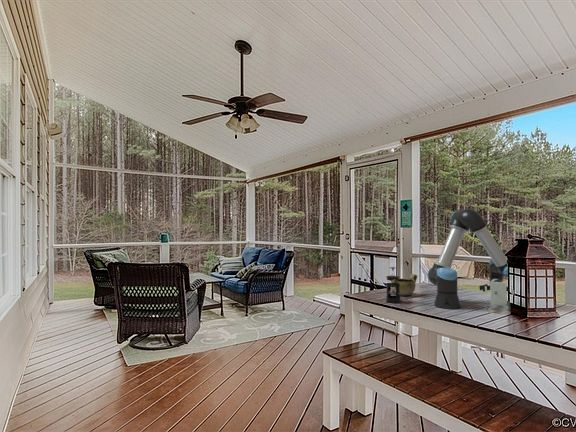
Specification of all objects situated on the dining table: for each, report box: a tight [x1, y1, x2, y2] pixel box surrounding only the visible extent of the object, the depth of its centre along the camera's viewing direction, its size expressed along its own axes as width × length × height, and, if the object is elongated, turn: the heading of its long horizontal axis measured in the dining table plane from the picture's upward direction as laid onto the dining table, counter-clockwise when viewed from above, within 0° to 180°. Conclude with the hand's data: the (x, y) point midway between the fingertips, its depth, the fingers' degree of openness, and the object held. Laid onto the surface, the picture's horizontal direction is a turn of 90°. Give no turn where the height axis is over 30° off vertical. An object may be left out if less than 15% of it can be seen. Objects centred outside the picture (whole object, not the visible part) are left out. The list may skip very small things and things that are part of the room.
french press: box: [385, 266, 402, 305], centre depth 239 cm, size 12×9×23 cm
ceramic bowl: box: [389, 273, 418, 297], centre depth 261 cm, size 22×17×15 cm
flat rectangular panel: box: [489, 281, 508, 306], centre depth 208 cm, size 8×3×16 cm, turn 63°
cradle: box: [487, 300, 511, 315], centre depth 208 cm, size 11×6×6 cm, turn 63°
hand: (499, 291), depth 209 cm, fingers open, 13 cm apart
